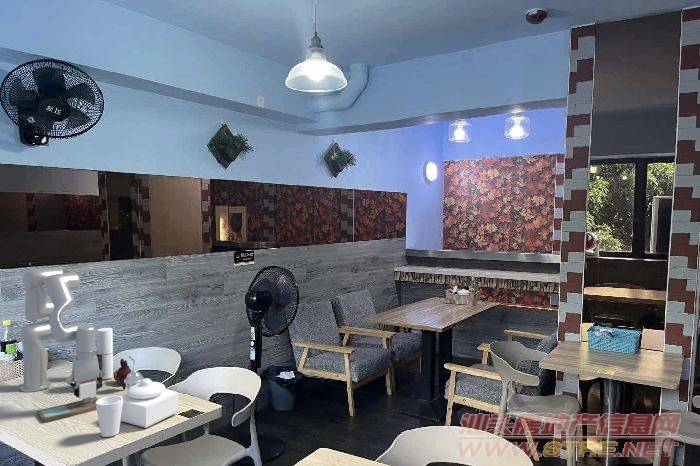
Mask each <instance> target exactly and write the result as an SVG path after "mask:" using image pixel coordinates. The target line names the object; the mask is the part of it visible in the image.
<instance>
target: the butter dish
mask: <svg viewBox="0 0 700 466" xmlns="http://www.w3.org/2000/svg"><path fill="white" fill-rule="evenodd" d="M126 391H127V390H126ZM120 396H121V397H123V405H122V412H121V420H120V422H121V423H126V424H131V425H134V426H139V427H141V428H145V429H147V428H149V427H151V426H153V425H155V424H157V423H158V422H161V421H163V420H165V419H167V418H168V417H171V416H174V415H175V414H177V413H179V392H177V391H174V390H168V389H166V386H165V384H163V383H161V382H159V381H152V380H151V379H150V378H148V377H147V378H145V377H144V379H143V380H142V381H141V382H140V383H139V384H136V385H134V386H132V387H131V388H129V389H128V391H127V392H126V393H125V394H124V395H120Z"/></svg>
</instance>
